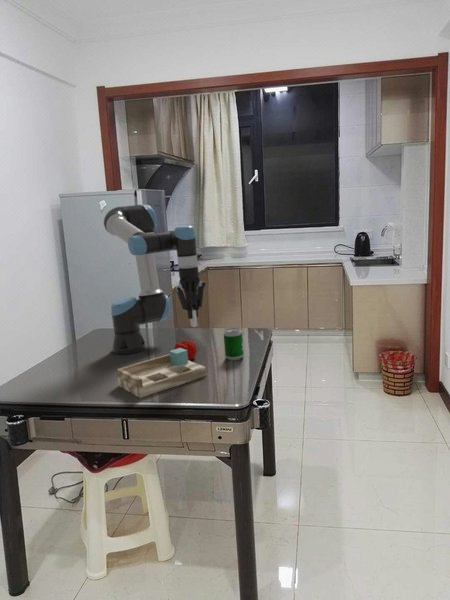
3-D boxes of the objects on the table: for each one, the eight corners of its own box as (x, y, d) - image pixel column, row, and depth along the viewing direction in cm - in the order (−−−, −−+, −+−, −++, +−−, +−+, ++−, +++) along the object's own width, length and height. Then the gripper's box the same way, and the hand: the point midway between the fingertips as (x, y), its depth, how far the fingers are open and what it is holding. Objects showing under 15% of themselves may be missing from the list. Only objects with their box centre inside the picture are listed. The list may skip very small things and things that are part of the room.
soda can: (242, 360, 205) (240, 332, 202) (224, 361, 206) (221, 332, 204) (245, 354, 212) (243, 327, 209) (227, 355, 214) (225, 327, 211)
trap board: (118, 385, 189) (116, 369, 187) (182, 365, 205) (180, 350, 203) (140, 398, 175) (138, 380, 174) (206, 375, 191) (204, 359, 190)
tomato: (180, 364, 207) (178, 346, 205) (172, 358, 215) (170, 341, 213) (201, 359, 211) (199, 342, 210) (192, 354, 219) (190, 337, 217)
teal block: (170, 363, 198) (169, 351, 197) (181, 359, 201) (180, 347, 200) (177, 366, 194) (176, 353, 193) (188, 362, 197) (187, 350, 196)
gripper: (197, 263, 201) (202, 321, 206) (168, 268, 194) (175, 328, 199) (207, 264, 195) (213, 324, 200) (178, 269, 188) (184, 331, 193)
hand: (194, 326), depth 199 cm, fingers closed
